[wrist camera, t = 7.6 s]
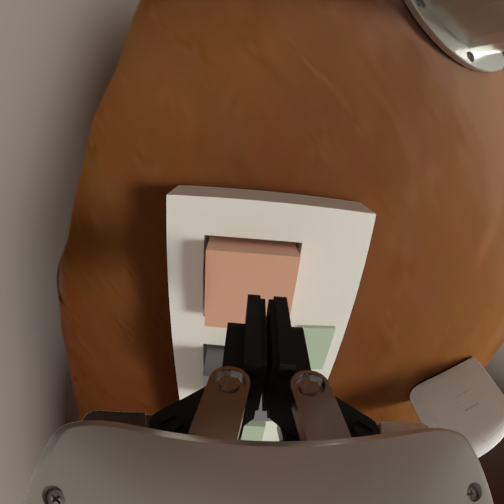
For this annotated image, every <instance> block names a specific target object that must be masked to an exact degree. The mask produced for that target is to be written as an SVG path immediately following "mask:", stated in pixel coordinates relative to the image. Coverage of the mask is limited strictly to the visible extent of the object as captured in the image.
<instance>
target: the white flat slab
mask: <svg viewBox="0 0 504 504" xmlns="http://www.w3.org/2000/svg"><path fill="white" fill-rule="evenodd" d="M375 217H376V214H375V213H374V212H372V211H371V210H370V209H368V208H367V207H365V206H364V205H362V204H361V203H360V202H355V201H348V200H341V199H333V198H326V197H318V196H309V195H300V194H291V193H282V192H271V191H261V190H249V189H236V188H223V187H207V186H189V185H178V186H177V187H176V188H174V189H173V190H172V191H170V192H169V193H168V194H167V195H166V233H167V268H168V289H169V305H170V318H171V330H172V341H173V351H174V360H175V369H176V377H177V385H178V392H179V399H180V400H181V399H183V398H185V397H187V396H189V395H191V394H192V393H194V392H196V391H198V390H200V389H202V388H203V370H204V364H205V358H206V352H207V346H208V344H212V345H223V346H225V340H226V332H227V328H221V327H209V326H205V258H206V248H207V245H208V242H209V239H210V236H211V235H212V236H225V237H238V238H251V239H263V240H275V241H287V242H295V244H296V247H297V249H298V252H299V254H300V257H301V258H300V264H299V270H298V275H297V281H296V287H295V292H294V297H293V303H292V308H291V313H290V321H291V327H302V328H303V330H304V335H305V340H306V345H307V351H308V356H309V361H310V367H311V370H312V371H316V372H319V373H321V374H322V375H323V376H325V377H326V378H327V380H328V377H329V375H330V372H331V369H332V367H333V364H334V361H335V359H336V356H337V353H338V350H339V347H340V344H341V341H342V339H343V336H344V333H345V330H346V327H347V323H348V320H349V317H350V314H351V311H352V307H353V304H354V301H355V297H356V294H357V290H358V287H359V283H360V280H361V276H362V272H363V269H364V265H365V261H366V257H367V253H368V249H369V244H370V240H371V236H372V231H373V227H374V222H375ZM262 441H279V437H278V433H277V424H275V423H274V422H273V421H272V420H271V421H265V430H264V434H263V438H262Z"/></svg>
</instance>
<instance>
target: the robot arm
mask: <svg viewBox="0 0 504 504" xmlns="http://www.w3.org/2000/svg"><path fill="white" fill-rule="evenodd" d="M404 1H405V3H406V5H407V7H408V8H409V10H410V12H411V13H412V15H413V16H414V18H415V19H416V20H417V22H418V23H419V25H420V26H421V27H422V29H423V30H424V31H425V32H426V33H427V34H428V36H429V37H430V38H431V39H432V40H433V41H434V42H435V43H436V44H437V45H438V46H439V47H440V48H441V49H442V50H443V51H444V52H445V53H446V54H448V55H449V56H450V57H451V58H453V59H454V60H455V61H456V62H458V63H460V64H461V65H463V66H465V67H466V68H469V69H471V70H474V71H476V72H483V73H488V72H496V71H499V70H501V69H502V68H503V67H504V0H404ZM261 395H262V411H267V418H270V420H272V421H273V422H274V423H275V424H277V433H278V437H279V441H252V440H241V438H242V434H243V430H244V426H245V425H246V424H247V423H249V422H250V421H252V420H253V419H254V416H255V411H258V410H259V405H260V400H261ZM23 504H493V500H492V497H491V493H490V490H489V487H488V483H487V480H486V477H485V475H484V472H483V470H482V467H481V465H480V462H479V460H478V458H477V455H476V453H475V451H474V450H473V448H472V446H471V444H470V443H469V441H468V440H467V439H466V437H465V436H464V435H462V434H461V433H459V432H457V431H454V430H450V429H444V428H429V427H428V426H427V425H425V424H423V423H408V422H388V421H380V423H375V422H374V421H373V420H372V419H371V418H369V417H367V416H366V415H364V414H362V413H361V412H359V411H357V410H356V409H354V408H353V407H351V406H349V405H348V404H346V403H345V402H343V401H341V400H340V399H338V398H337V397H335V396H334V393H333V391H332V388H331V386H330V384H329V382H328V380H327V378H326V377H325V376H323V375H322V374H321V373H319V372H316V371H312V370H311V367H310V361H309V356H308V351H307V345H306V340H305V335H304V330H303V328H302V327H291V321H290V314H289V308H288V302H287V297H279V296H274V298H273V299H269V301H268V307H267V314H266V306H265V299H261V296H260V295H253V294H248V298H247V308H246V318H245V324H242V323H231V322H228V325H227V332H226V340H225V347H224V355H223V363H222V367H220V368H218V369H216V370H214V371H213V372H212V373H211V375H210V376H209V379H208V382H207V384H206V386H205V387H203V388H202V389H200V390H198V391H196V392H194V393H192V394H191V395H189V396H187V397H185V398H183V399H181V400H179V401H177V402H175V403H174V404H172V405H170V406H168V407H166V408H164V409H162V410H160V411H158V412H157V413H155V414H154V415H146V414H145V412H116V411H100V410H98V411H92V412H90V413H88V414H87V415H86V416H85V417H84V419H83V421H78V422H73V423H69V424H66V425H64V426H62V427H61V428H59V429H58V430H57V431H56V432H55V434H54V435H53V436H52V437H51V439H50V440H49V442H48V443H47V445H46V447H45V449H44V451H43V453H42V455H41V457H40V459H39V461H38V464H37V466H36V468H35V471H34V473H33V476H32V479H31V481H30V484H29V488H28V491H27V493H26V497H25V500H24V503H23Z"/></svg>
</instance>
